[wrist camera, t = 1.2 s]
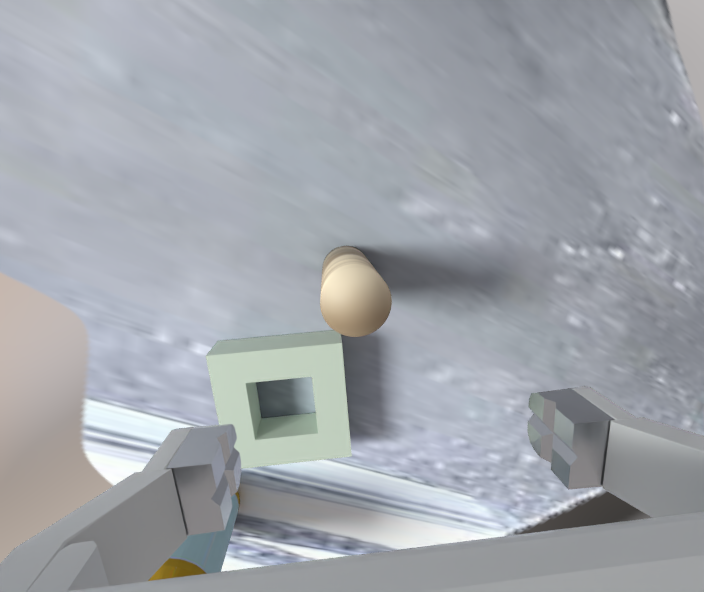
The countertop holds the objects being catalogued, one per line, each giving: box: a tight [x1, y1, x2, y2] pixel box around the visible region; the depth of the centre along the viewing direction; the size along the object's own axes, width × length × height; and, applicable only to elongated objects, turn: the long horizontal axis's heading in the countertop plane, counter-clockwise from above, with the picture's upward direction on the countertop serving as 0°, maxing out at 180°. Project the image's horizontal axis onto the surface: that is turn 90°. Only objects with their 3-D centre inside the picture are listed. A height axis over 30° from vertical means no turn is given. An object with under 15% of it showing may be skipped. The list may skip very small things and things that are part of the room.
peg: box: [320, 246, 392, 337], centre depth 27 cm, size 4×4×12 cm
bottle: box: [148, 491, 240, 581], centre depth 31 cm, size 7×7×15 cm
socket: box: [206, 330, 352, 469], centre depth 34 cm, size 12×12×4 cm
